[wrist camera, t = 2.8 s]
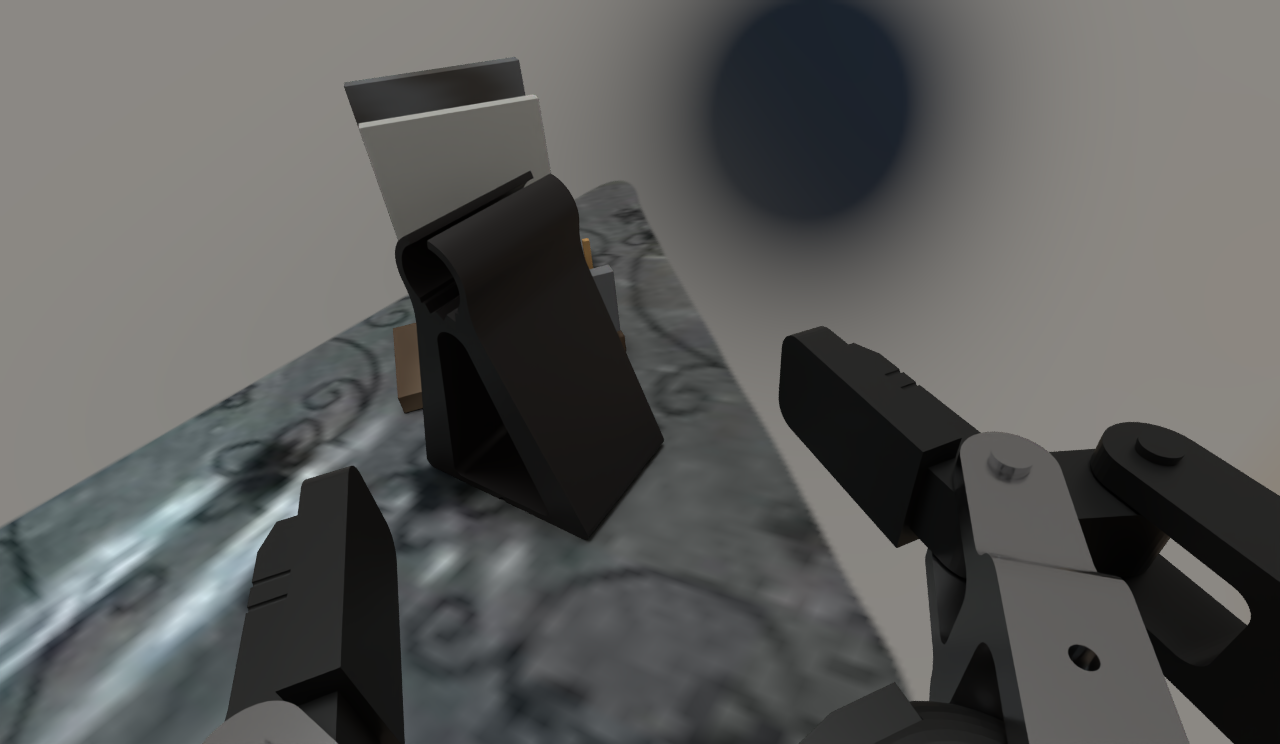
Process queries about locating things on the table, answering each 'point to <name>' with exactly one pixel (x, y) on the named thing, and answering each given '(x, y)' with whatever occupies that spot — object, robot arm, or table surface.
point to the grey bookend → (419, 97)
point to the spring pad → (461, 163)
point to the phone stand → (524, 358)
